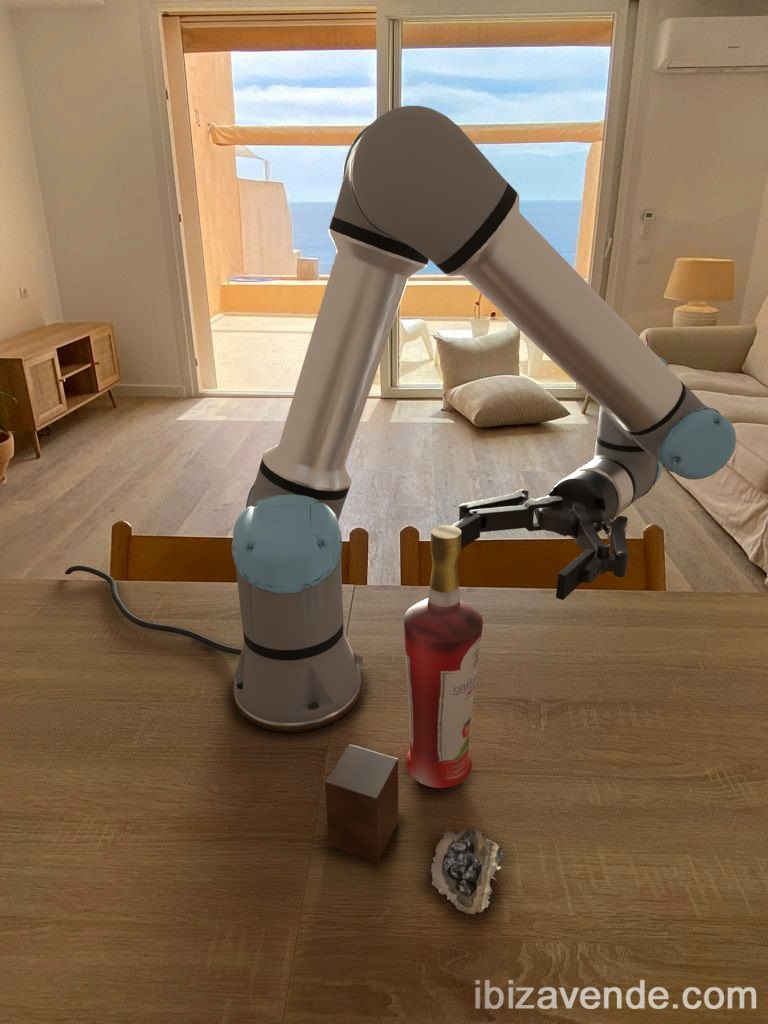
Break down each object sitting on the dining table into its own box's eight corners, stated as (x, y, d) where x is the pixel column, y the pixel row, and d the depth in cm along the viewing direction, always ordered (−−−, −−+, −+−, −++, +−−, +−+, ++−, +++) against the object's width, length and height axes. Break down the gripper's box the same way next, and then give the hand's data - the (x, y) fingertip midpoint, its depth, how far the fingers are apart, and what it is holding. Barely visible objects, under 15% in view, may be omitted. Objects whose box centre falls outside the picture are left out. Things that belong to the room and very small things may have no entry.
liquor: (427, 736, 77) (432, 507, 65) (486, 764, 73) (503, 526, 61) (389, 778, 72) (387, 536, 60) (450, 810, 68) (462, 559, 56)
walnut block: (328, 845, 64) (324, 781, 61) (351, 805, 69) (348, 743, 65) (378, 864, 63) (376, 798, 59) (398, 821, 67) (398, 758, 63)
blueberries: (498, 834, 65) (499, 819, 65) (515, 914, 58) (516, 899, 57) (427, 835, 65) (427, 821, 64) (434, 916, 58) (435, 901, 57)
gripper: (688, 555, 80) (612, 640, 65) (500, 501, 94) (403, 561, 80) (699, 495, 76) (622, 570, 62) (503, 449, 91) (403, 501, 76)
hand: (499, 565), depth 71 cm, fingers open, 13 cm apart
